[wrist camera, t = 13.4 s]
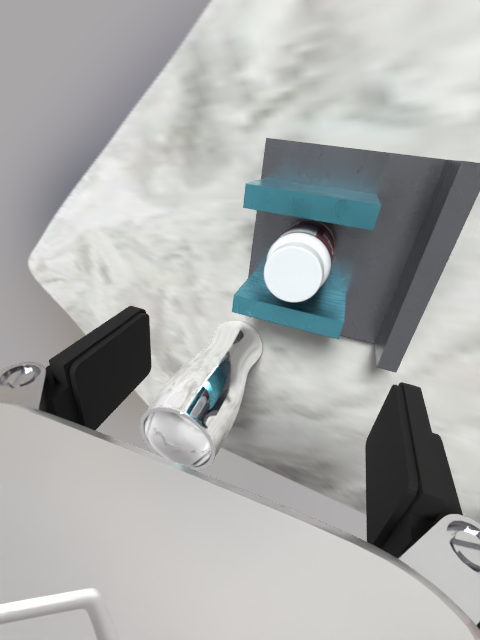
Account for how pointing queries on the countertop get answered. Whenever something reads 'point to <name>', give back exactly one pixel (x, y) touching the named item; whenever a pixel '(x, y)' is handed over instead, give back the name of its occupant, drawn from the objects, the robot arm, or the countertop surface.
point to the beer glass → (202, 398)
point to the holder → (359, 237)
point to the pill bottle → (299, 261)
